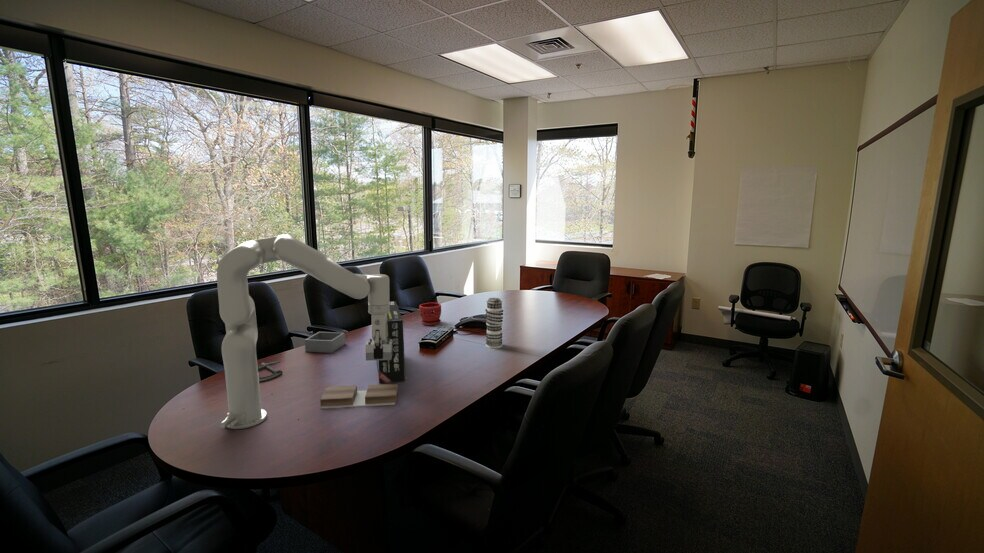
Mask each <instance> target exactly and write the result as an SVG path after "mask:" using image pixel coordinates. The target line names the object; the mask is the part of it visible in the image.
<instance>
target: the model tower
mask: <svg viewBox="0 0 984 553" xmlns="http://www.w3.org/2000/svg"><path fill="white" fill-rule="evenodd" d="M486 304H487V305H486V306H487V307H486V308H485V310H484V311H485V318H486V319H485V324H486V332H485V334H486V336H485V337H486V338H485V347H486V348H488V349H495V350H496V349H500V348H502V347H503V329H502V328H503V327H502V326H503V318H504V317H503V315H504V313H503V312H504V310H503V307H502V306H503V301H502V300H501V299H500V298H499V297H489V298H488V300H486Z"/></svg>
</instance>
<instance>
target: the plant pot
mask: <svg viewBox="0 0 984 553" xmlns="http://www.w3.org/2000/svg"><path fill="white" fill-rule="evenodd" d="M418 310H419V316H420V318H421V324H423V325H424V326H429V327H430V326H436V325H439V324H440V323H441V322H442V320H441V315H442V304H441V303H440V302H426V303H422V304H419V306H418Z"/></svg>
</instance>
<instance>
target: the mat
mask: <svg viewBox="0 0 984 553" xmlns="http://www.w3.org/2000/svg"><path fill="white" fill-rule="evenodd" d="M366 393H367V390H357V394H356V396H355V399H354V402H353V405H337V406H321V405H320V409H321V410H324V409H339V408H356V407H357V408H359V407H373V406H374V407H377V406H378V407H379V406H393V405H396V403H397V401H396V402H393V403H375V404H365V396H366Z"/></svg>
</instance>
